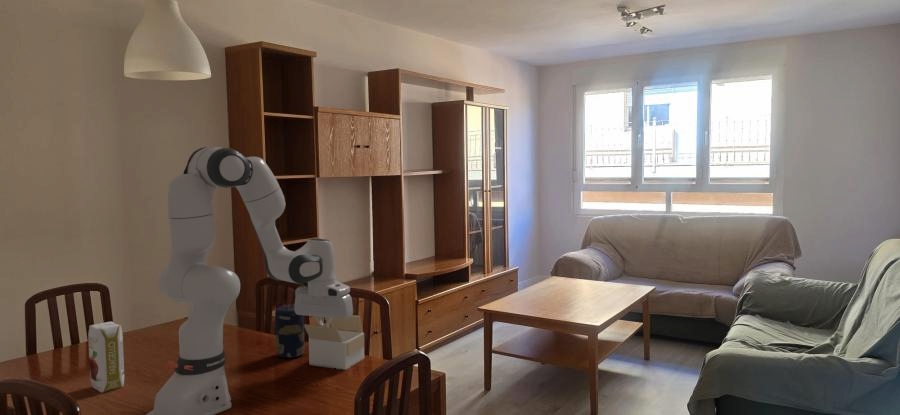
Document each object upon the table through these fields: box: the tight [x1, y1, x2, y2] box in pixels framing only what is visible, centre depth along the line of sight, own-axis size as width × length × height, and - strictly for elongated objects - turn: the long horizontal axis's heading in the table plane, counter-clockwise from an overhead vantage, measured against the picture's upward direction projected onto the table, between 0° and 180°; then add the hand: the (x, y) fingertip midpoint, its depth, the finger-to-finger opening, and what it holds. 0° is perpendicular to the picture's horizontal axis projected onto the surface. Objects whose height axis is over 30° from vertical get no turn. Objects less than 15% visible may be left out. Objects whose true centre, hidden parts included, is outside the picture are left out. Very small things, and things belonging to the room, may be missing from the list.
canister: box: [274, 304, 306, 359], centre depth 202 cm, size 10×10×18 cm
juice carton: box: [87, 321, 125, 393], centre depth 173 cm, size 8×9×19 cm
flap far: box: [329, 314, 363, 333], centre depth 200 cm, size 6×12×1 cm
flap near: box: [304, 323, 343, 342], centre depth 187 cm, size 6×12×1 cm
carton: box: [308, 329, 365, 371], centre depth 195 cm, size 12×15×9 cm
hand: (324, 329), depth 188 cm, fingers closed, pressing on flap near
